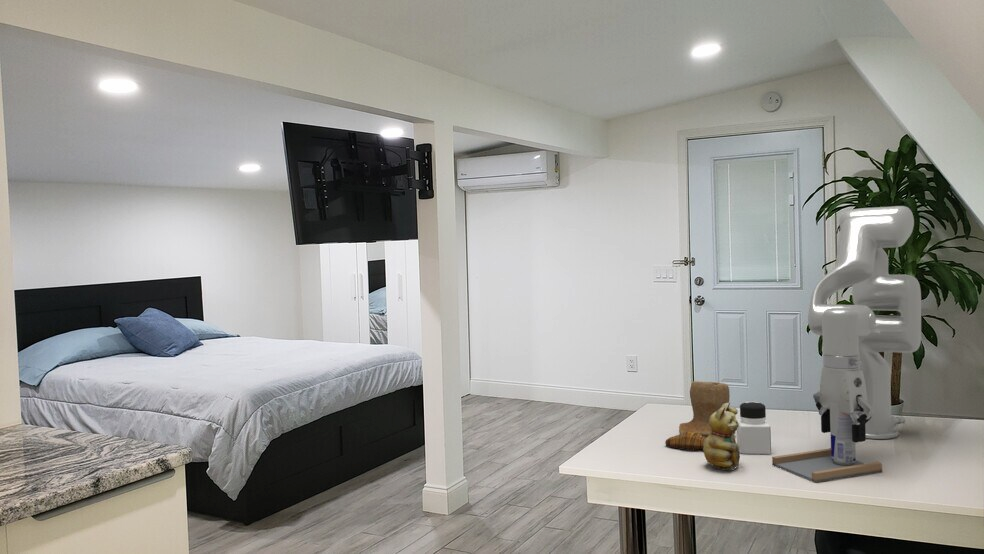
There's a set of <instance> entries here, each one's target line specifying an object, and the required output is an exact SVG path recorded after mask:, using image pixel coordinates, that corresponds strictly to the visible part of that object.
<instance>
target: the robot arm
mask: <svg viewBox="0 0 984 554" xmlns="http://www.w3.org/2000/svg"><path fill="white" fill-rule="evenodd" d="M838 221H839V224H838V225H839V229H840V231H839V237H838V246H837V252H836V259H835V267H834V268H832V269H831V270H829V272H827V273H826V274H824V276H822V278H821V279H820V280H819V281H818V282H817V284H816V285H815V287H814V288H813V289H812V292H811V295H810V302H809V309H808V315H807V316H808V317H807V321H808V322H807V323H808V329H810V331H811V332H812V333H813V334H815V335H817V336H822V367H821V373H820V374H821V375H820V383H819V384H820V385H819V390H818V391H817V392H816V393H813V395H812V397H813V400H814V403H815V406H816V408H817V410H818V415H819V416H820V429H821V431H820V432H821V433H823V434H825V433H831V431H830V403H831V402H833V401H836V402H835V403H836V404H837V405H838V407H839V410H840V412H842V413H845V414H849V415H850V417H851V418H852V420H853V422H854V424H852V441H853V442H855V444H856V443H862V442H866V439H874V440H886V439H887V440H888V439H893V438H896V437H899V430H898V429H897V428H895V426H896V425H903V424H905V422H906V418H905V417H904V416H902V415H901V416H894V415H892V396H891V392H892V391H891V390H892V389H891V388H892V387H891V368H890V366H889V364H888V362H887V361H886V359H885V358H884V357H883V355H881V354H880V353H903V354H904V353H906V354H907V353H908V354H909V353H915V352H917V351H918V350H919V349H920V346H921V343H922V342H921V341H922V291H921V290H922V289H921V285H920V282H919V281H918V279H917V278H916V277H915V276H914V275H911V274H910V275H909V274H890V273H889V256H888V254H887V253H886V251H885V250H884V249H885V248H886V249H888V248H899V247H903V245H905V244H906V242H907V241H908V239H909V238H910V237H911V235H912V233H913V230H914V227H915V219H914V215H913V212H912V209H911V208H909V207H908V206H905V205H894V206H893V205H892V206H880V207H879V206H878V207H877V206H876V207H863V208H862V207H861V208H853V209H848V210H846V211H845V212H843V213H842V214H840V216H839V220H838ZM849 287H852V290H851V291H852V292H851V293H852V295H851V296H852V303H853V304H837V303H836V304H831V303H830V304H826V303H827V301H828V300H829V299H830V297H831V296H832V295H834V294H835V293H838V292H839V291H842V290H844V289H846V288H849ZM874 311H885V312H886V311H890V312H891V311H896V312H899V313H900V315H883V314H881V315H880V314H875V313H874ZM831 400H833V401H831ZM854 410H855V411H854Z"/></svg>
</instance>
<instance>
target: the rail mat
mask: <svg viewBox="0 0 984 554" xmlns="http://www.w3.org/2000/svg"><path fill="white" fill-rule="evenodd" d="M771 464H772V466H773V465H774V466H773V467H775V466H776V468H778V469H780V468H781V469H780V470H782V471H785V470H786V472H788V473H790V474H793V475H796V476H798V477H800V478H803V479H805V480H807V481H810V482H813V483H814V484H815V483H816V484H819V483H822V482H829V481H830V482H831V481H837V480H841V479H849V478H854V477H859V476H860V477H861V476H866V475H873V474H878V473H879V474H880V473H883V463H882V462H881V461H875V462H874V461H873V462H867V463H865V462H861V461H858V460H856V461H855V462H854V463H853V464H852V465H839V464H836V463H835V462H834V461H833V460H832V459H831V447H830V448H823V449H817V450H810V451H808V450H807V451H804V452H796V453H789V454H782V455H776V456H774V455H773V456H772V457H771Z"/></svg>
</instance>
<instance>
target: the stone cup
mask: <svg viewBox="0 0 984 554" xmlns="http://www.w3.org/2000/svg"><path fill="white" fill-rule="evenodd" d="M689 397H690V402H691V408H692V414H693V416H692V419H691V420H690V421H688V422H682V423H679V426H678V432H679V435H681V434H683V433H685V432H688V431H694V432H696V433H699V434H700V435H702V436H704V437H708V436H709V435H710V431H711V430H712V429H711V427H710V425H709V419H710V416H711V415H712V414H713V413H714V412H717V410H719V409H720V408H721V407H722V405H723V404H725V403H730V387H729V385H728V384H727V383H724V382H719V381H718V382H716V381H699V380H694V381H692V382H691V385H690V388H689ZM735 434H736V431H735V432H734V433H733V436H734V435H735Z"/></svg>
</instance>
